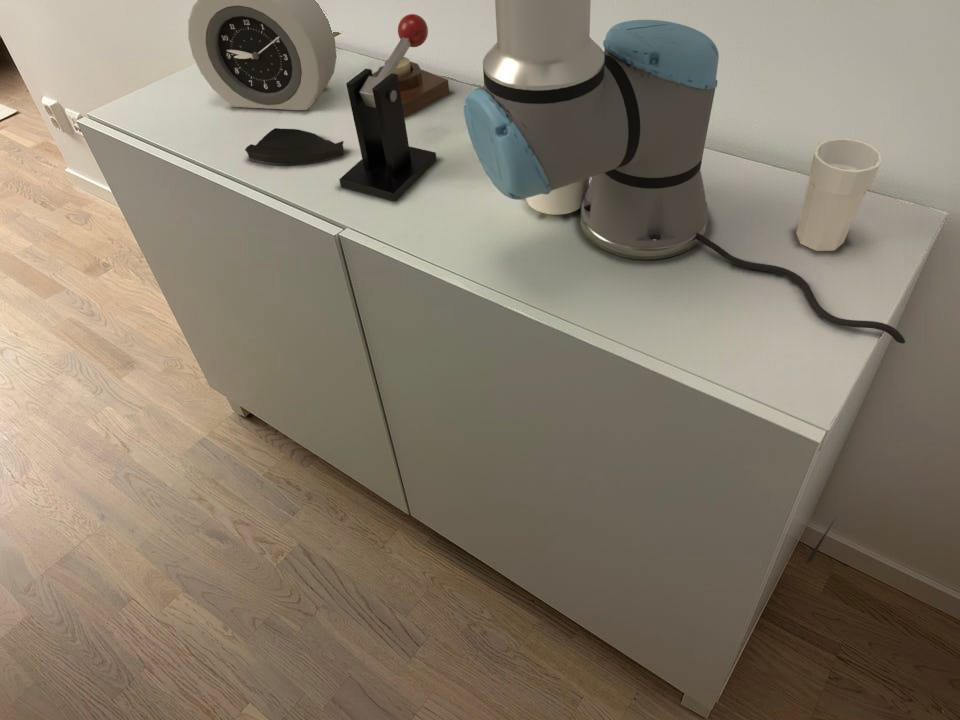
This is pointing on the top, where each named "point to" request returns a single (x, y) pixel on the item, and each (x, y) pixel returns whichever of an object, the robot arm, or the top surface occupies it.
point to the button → (403, 67)
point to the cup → (835, 191)
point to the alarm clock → (263, 51)
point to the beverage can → (560, 199)
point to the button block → (419, 88)
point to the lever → (397, 52)
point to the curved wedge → (293, 148)
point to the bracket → (383, 142)
